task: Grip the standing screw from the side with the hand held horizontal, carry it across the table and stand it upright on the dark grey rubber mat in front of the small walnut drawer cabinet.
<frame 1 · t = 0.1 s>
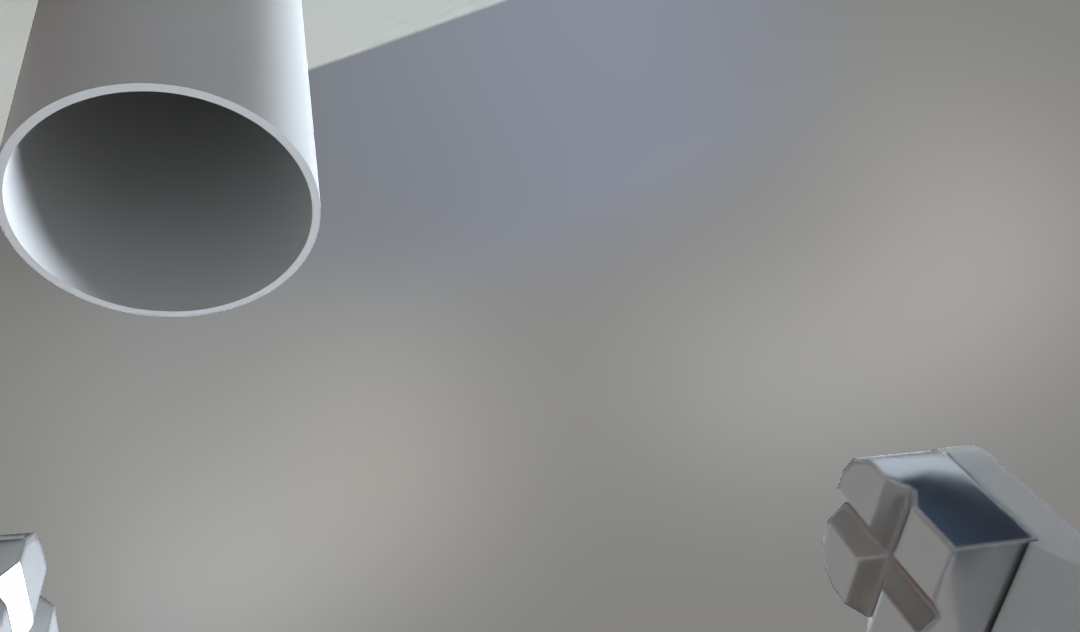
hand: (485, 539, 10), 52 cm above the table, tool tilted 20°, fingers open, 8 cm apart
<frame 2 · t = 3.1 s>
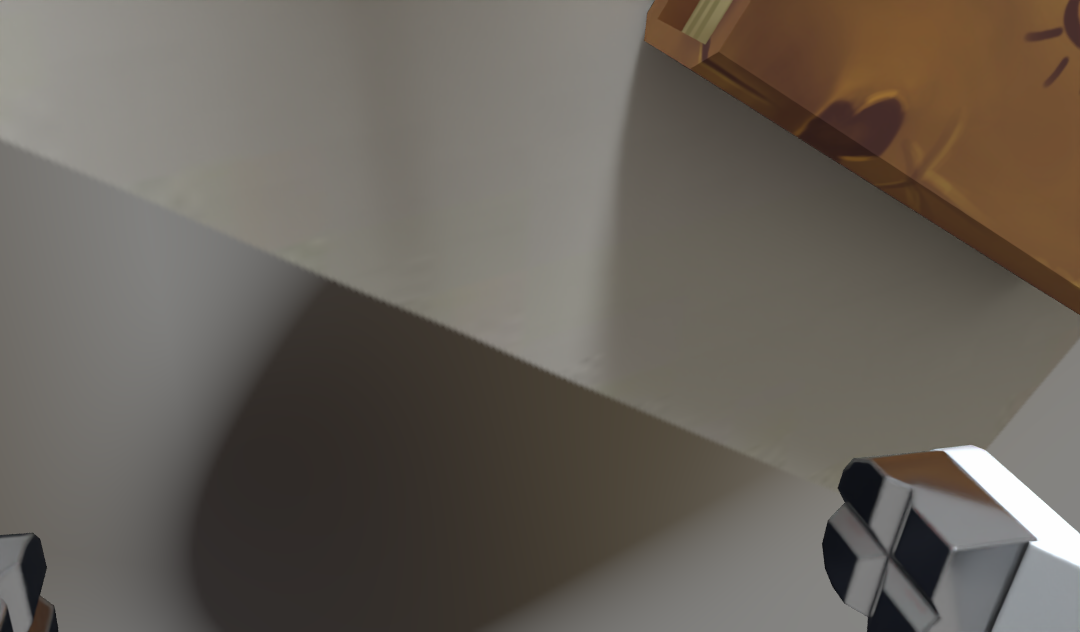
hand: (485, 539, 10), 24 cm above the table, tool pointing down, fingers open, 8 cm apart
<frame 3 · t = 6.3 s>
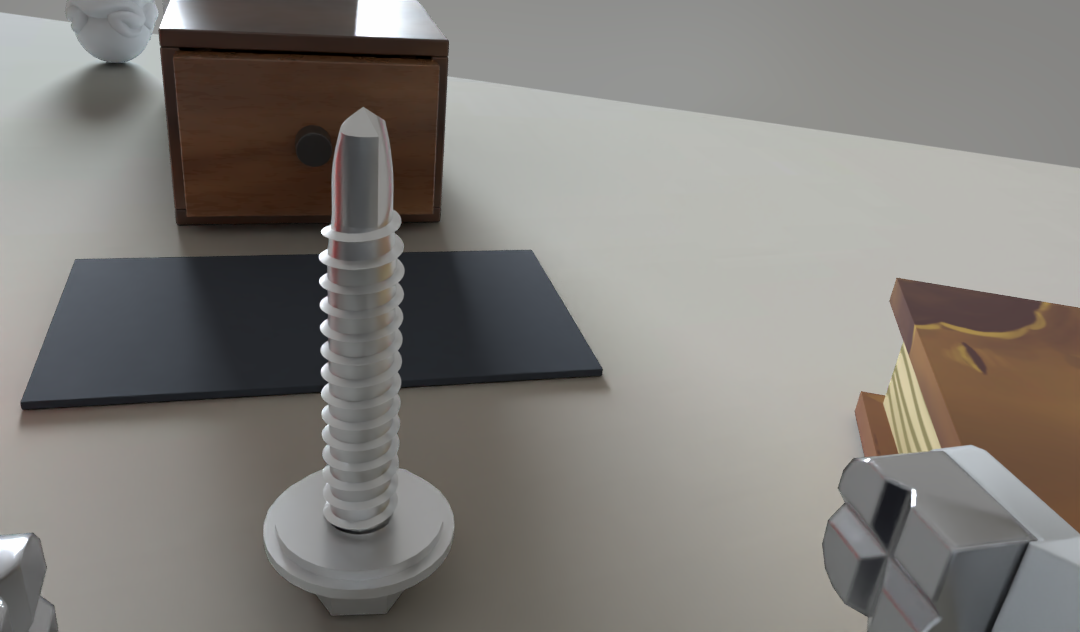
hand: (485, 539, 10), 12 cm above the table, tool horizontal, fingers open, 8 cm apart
mat: (325, 317, 38), on the table
screw: (360, 587, 25), on the table
cabinet: (306, 172, 52), on the table
drawer: (306, 103, 48), point 5 cm above the table, slide at 0.0 cm, touching cabinet
frog figurine: (118, 63, 69), on the table
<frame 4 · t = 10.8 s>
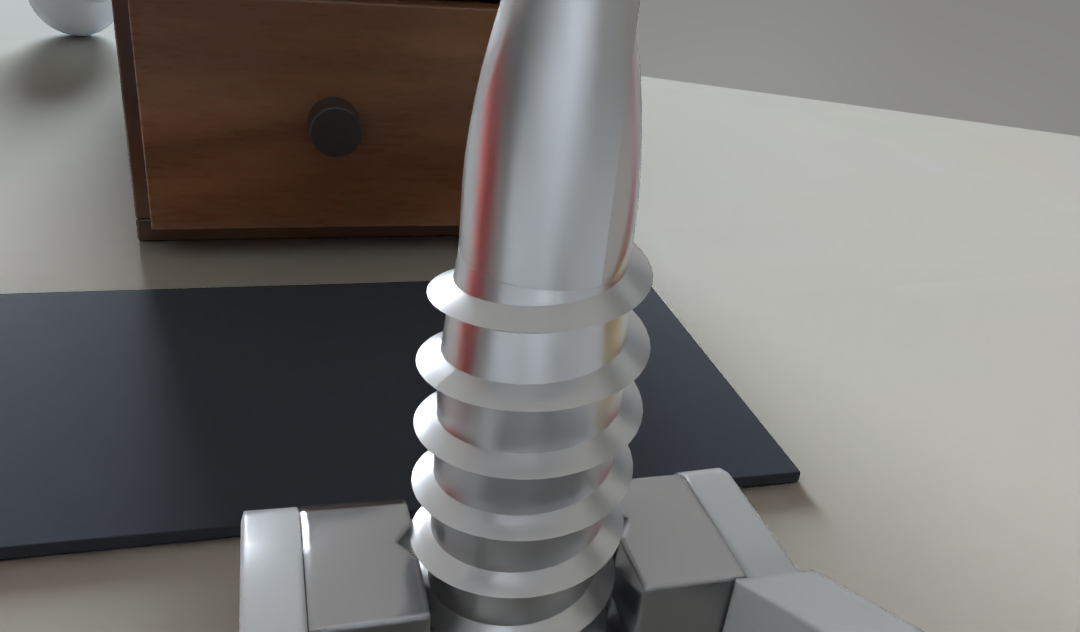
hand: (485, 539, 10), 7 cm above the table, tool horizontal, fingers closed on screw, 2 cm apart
mat: (357, 385, 25), on the table
cabinet: (320, 168, 39), on the table
drawer: (321, 72, 35), point 5 cm above the table, slide at 0.0 cm, touching cabinet
frog figurine: (82, 37, 56), on the table
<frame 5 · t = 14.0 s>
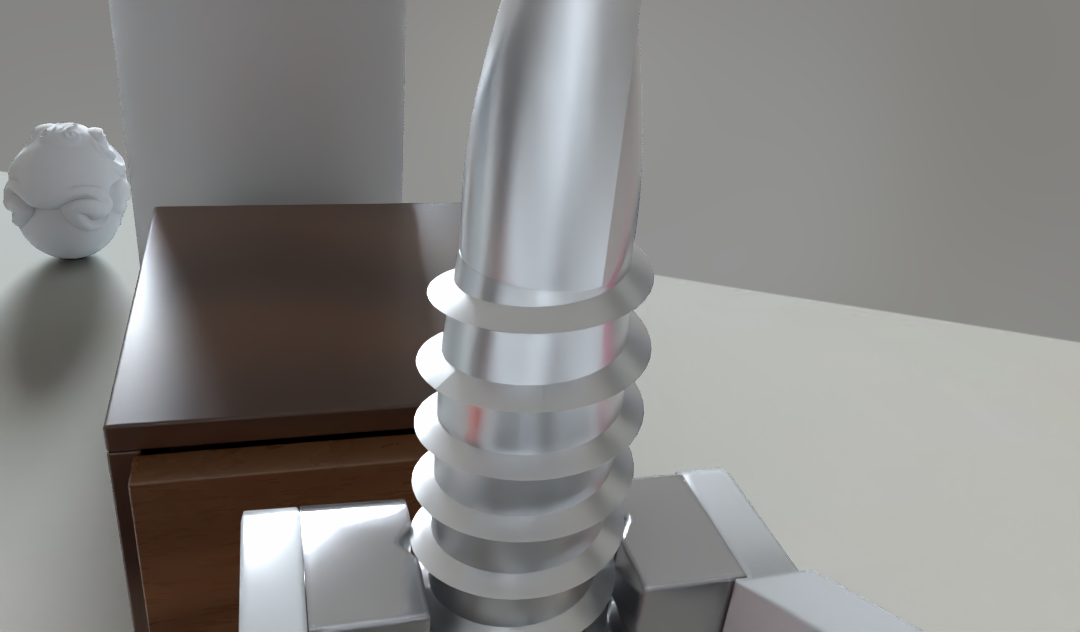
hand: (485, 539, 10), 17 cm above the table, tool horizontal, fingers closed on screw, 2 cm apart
cylinder vase: (277, 306, 49), on the table
cabinet: (342, 504, 35), on the table
drawer: (347, 440, 31), point 5 cm above the table, slide at 0.0 cm, touching cabinet
frog figurine: (78, 255, 52), on the table
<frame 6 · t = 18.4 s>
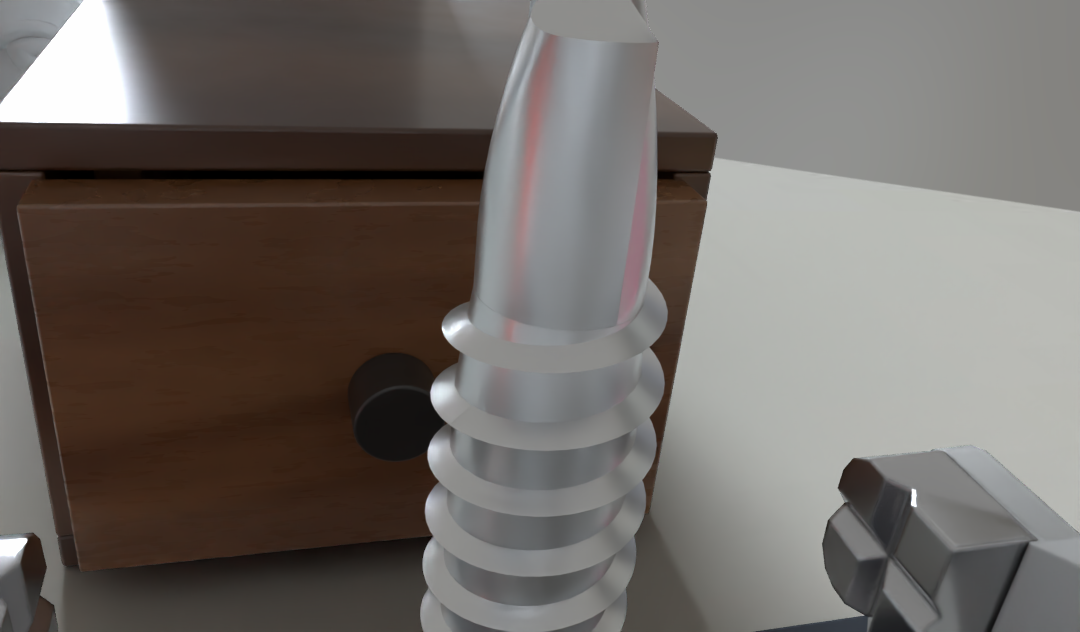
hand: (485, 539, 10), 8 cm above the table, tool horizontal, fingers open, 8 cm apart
cabinet: (351, 364, 27), on the table
drawer: (359, 251, 23), point 5 cm above the table, slide at 0.0 cm, touching cabinet
frog figurine: (32, 119, 43), on the table
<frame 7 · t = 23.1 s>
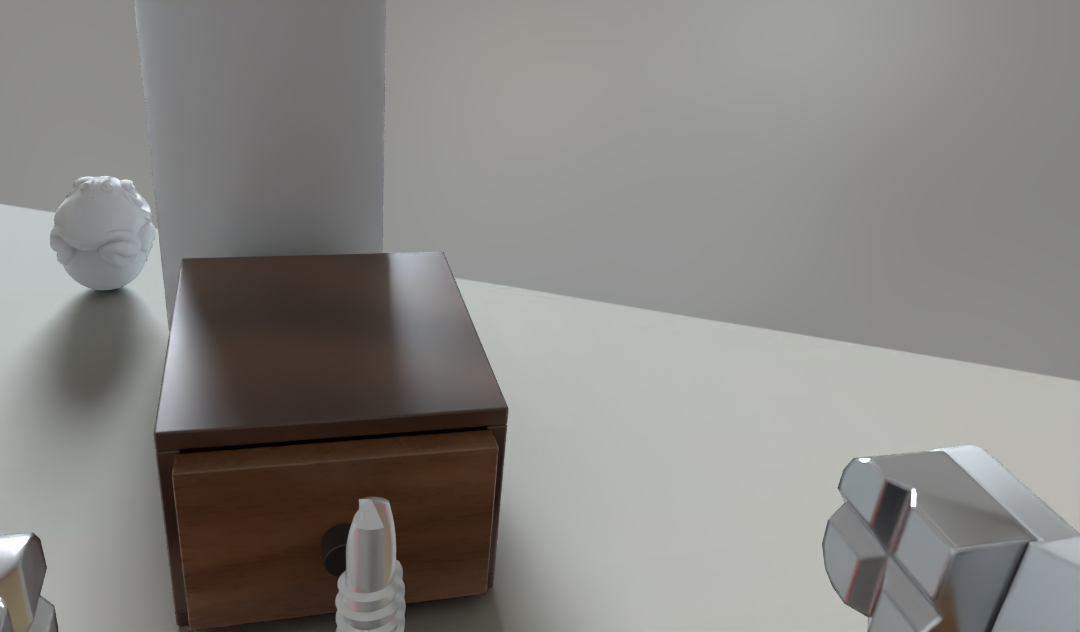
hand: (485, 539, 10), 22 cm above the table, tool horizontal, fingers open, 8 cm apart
cylinder vase: (278, 331, 58), on the table
cabinet: (329, 494, 44), on the table
drawer: (332, 443, 40), point 5 cm above the table, slide at 0.0 cm, touching cabinet
frog figurine: (110, 287, 61), on the table
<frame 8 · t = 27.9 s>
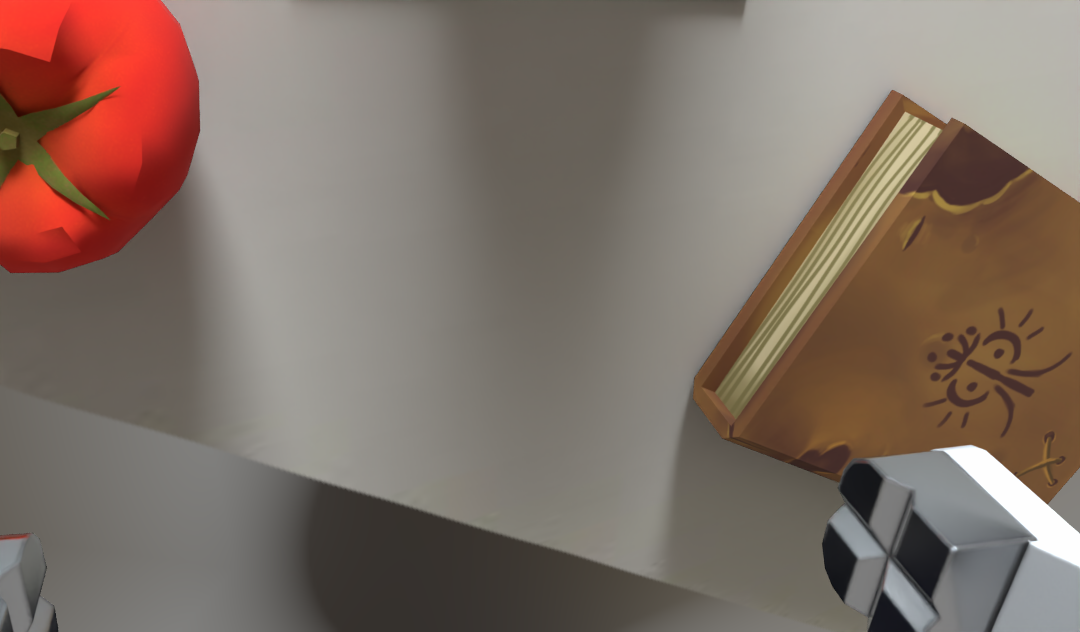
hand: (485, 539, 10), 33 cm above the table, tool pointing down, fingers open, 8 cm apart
diary: (921, 319, 55), on the table
tomato: (52, 75, 37), on the table
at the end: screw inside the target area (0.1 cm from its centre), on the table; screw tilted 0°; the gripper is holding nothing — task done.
